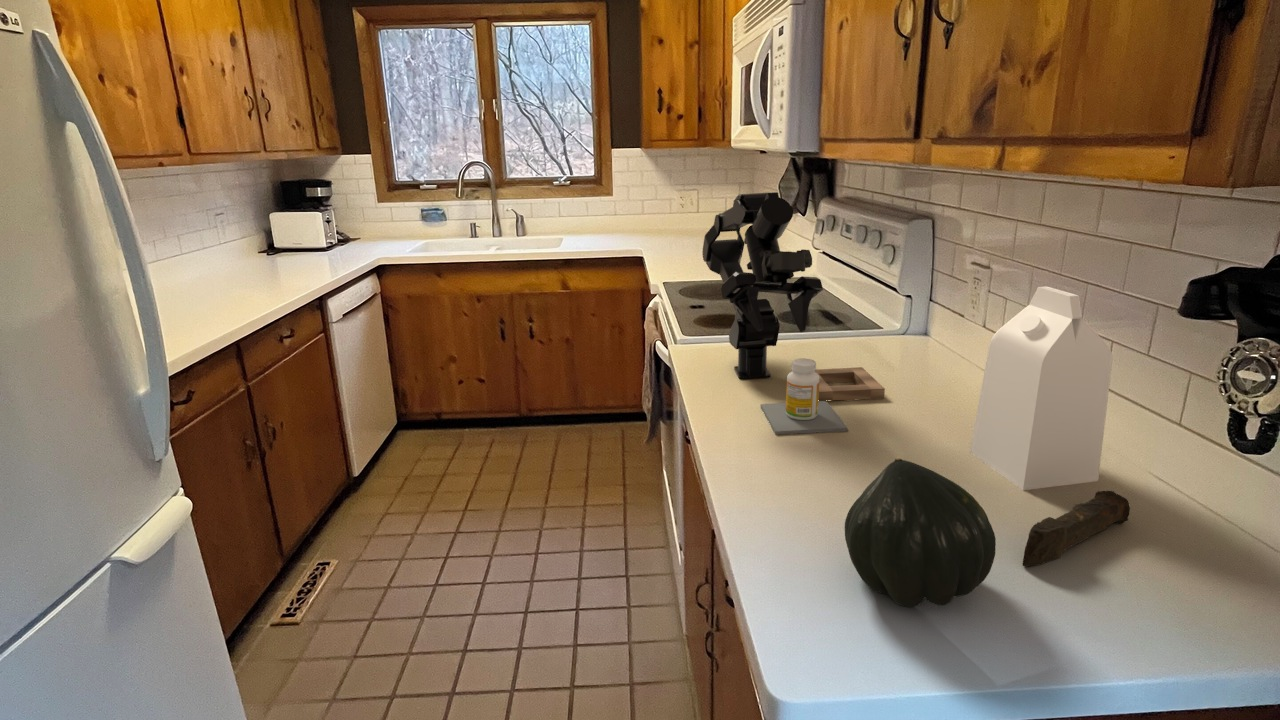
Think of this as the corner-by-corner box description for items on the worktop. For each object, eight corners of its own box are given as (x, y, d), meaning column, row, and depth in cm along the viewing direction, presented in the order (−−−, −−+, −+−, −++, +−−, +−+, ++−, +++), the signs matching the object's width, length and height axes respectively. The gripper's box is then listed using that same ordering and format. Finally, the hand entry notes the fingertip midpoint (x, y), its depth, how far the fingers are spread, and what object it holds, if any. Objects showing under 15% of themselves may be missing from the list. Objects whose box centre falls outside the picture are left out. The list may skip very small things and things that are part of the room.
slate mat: (760, 407, 126) (760, 404, 126) (826, 403, 126) (826, 400, 126) (775, 434, 114) (775, 431, 114) (847, 431, 115) (847, 427, 115)
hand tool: (1094, 512, 89) (1100, 479, 88) (1128, 526, 86) (1134, 492, 85) (1000, 558, 81) (1005, 523, 79) (1033, 576, 78) (1038, 539, 76)
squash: (1039, 592, 66) (990, 441, 72) (886, 610, 65) (849, 456, 71) (972, 603, 79) (935, 474, 85) (843, 618, 78) (815, 487, 84)
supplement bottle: (800, 406, 124) (803, 354, 121) (824, 415, 120) (827, 362, 116) (779, 413, 121) (780, 361, 118) (802, 423, 117) (804, 369, 114)
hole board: (801, 379, 138) (802, 370, 138) (861, 376, 139) (862, 367, 138) (819, 402, 127) (819, 391, 126) (883, 398, 127) (884, 388, 127)
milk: (1098, 480, 96) (1133, 297, 88) (1022, 490, 95) (1051, 304, 86) (1037, 444, 108) (1063, 279, 99) (969, 452, 106) (990, 285, 98)
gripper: (744, 226, 118) (762, 310, 113) (831, 235, 126) (852, 313, 121) (713, 258, 128) (728, 336, 123) (796, 264, 136) (813, 338, 130)
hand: (782, 330), depth 124 cm, fingers open, 9 cm apart
